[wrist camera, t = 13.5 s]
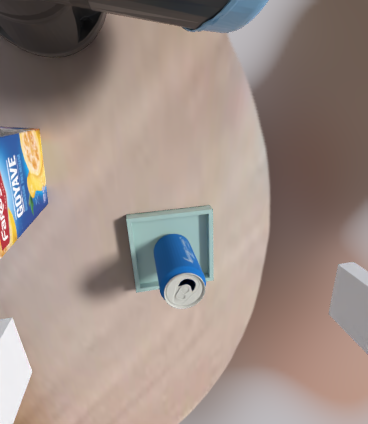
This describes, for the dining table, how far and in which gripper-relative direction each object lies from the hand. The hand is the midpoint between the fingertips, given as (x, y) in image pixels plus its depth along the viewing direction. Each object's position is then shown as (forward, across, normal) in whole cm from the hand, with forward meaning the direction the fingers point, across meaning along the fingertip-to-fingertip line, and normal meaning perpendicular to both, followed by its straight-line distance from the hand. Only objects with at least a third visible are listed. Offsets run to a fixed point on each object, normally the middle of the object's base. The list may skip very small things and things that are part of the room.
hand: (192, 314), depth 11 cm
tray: (+33, +3, -15) cm, 36 cm away
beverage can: (+32, +3, -15) cm, 36 cm away
